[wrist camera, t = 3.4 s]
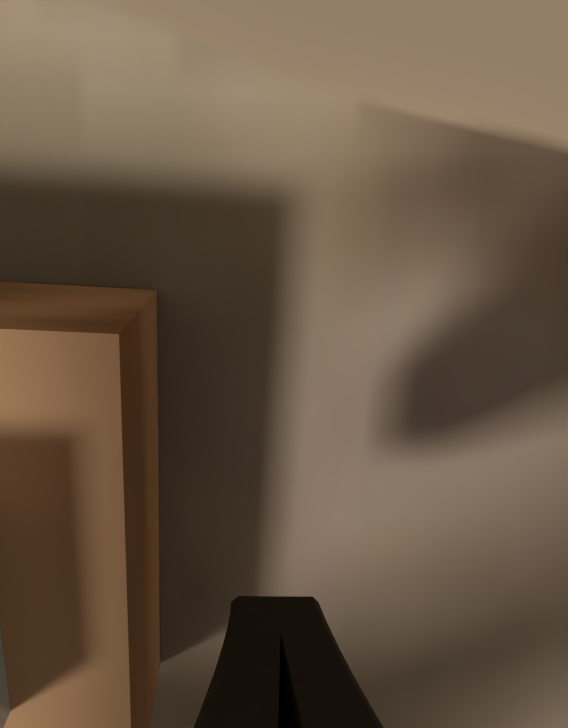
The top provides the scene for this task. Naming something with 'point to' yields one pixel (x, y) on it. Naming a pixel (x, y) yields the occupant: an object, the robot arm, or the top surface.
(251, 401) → the top surface
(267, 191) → the top surface
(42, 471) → the walnut plate
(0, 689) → the tile slate
